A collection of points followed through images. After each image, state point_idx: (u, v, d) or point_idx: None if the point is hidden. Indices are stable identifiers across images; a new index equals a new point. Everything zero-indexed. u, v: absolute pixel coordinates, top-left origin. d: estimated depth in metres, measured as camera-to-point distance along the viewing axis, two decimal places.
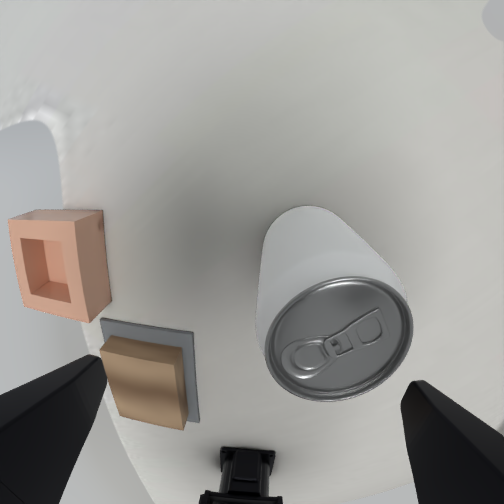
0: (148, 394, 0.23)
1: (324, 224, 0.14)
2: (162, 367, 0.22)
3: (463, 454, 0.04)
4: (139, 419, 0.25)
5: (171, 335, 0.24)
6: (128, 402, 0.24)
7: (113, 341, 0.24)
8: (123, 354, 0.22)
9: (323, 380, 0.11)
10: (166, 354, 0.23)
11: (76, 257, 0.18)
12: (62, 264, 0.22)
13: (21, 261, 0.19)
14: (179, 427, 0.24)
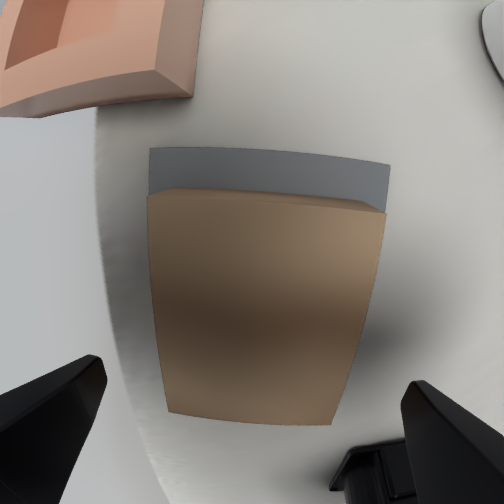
0: (278, 335, 0.09)
1: None
2: (352, 228, 0.08)
3: (463, 454, 0.04)
4: (222, 415, 0.11)
5: (343, 168, 0.10)
6: (204, 371, 0.10)
7: (183, 190, 0.10)
8: (229, 198, 0.08)
9: None
10: (345, 203, 0.09)
11: None
12: (94, 31, 0.08)
13: (17, 7, 0.05)
14: (324, 419, 0.11)
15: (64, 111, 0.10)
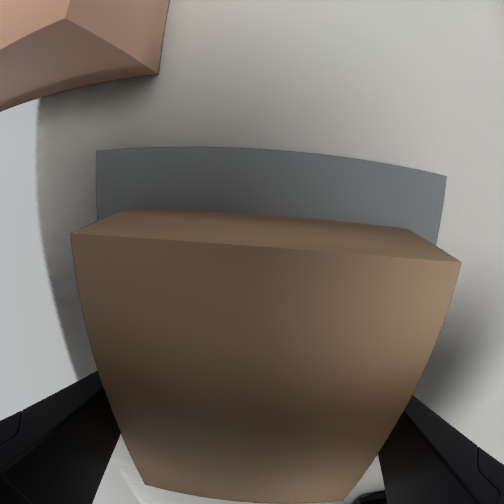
0: (281, 430, 0.06)
1: None
2: (411, 288, 0.04)
3: (431, 464, 0.04)
4: (210, 494, 0.07)
5: (383, 179, 0.06)
6: (181, 458, 0.06)
7: (137, 215, 0.06)
8: (199, 239, 0.05)
9: None
10: (392, 239, 0.05)
11: None
12: None
13: None
14: (336, 497, 0.07)
15: (4, 108, 0.06)
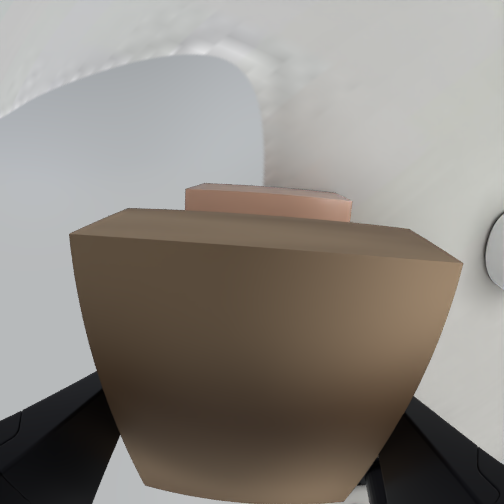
0: (282, 432, 0.06)
1: None
2: (412, 290, 0.04)
3: (431, 464, 0.04)
4: (209, 495, 0.07)
5: None
6: (181, 459, 0.06)
7: (137, 216, 0.06)
8: (199, 240, 0.05)
9: None
10: (393, 239, 0.05)
11: None
12: None
13: None
14: (336, 498, 0.07)
15: None
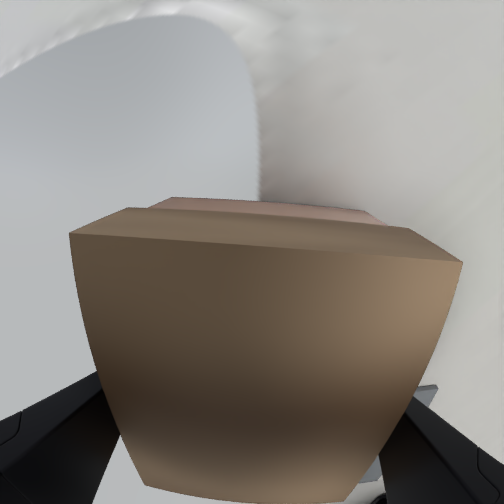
0: (282, 431, 0.06)
1: None
2: (412, 288, 0.04)
3: (431, 464, 0.04)
4: (209, 495, 0.07)
5: None
6: (181, 459, 0.06)
7: (137, 215, 0.06)
8: (199, 239, 0.04)
9: None
10: (393, 238, 0.05)
11: None
12: None
13: None
14: (336, 498, 0.07)
15: None
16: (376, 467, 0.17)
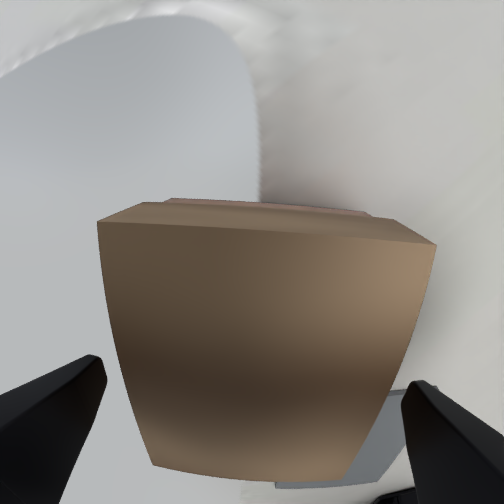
0: (281, 401, 0.07)
1: None
2: (390, 267, 0.05)
3: (463, 454, 0.04)
4: (214, 472, 0.08)
5: None
6: (189, 433, 0.07)
7: (153, 208, 0.07)
8: (211, 225, 0.05)
9: None
10: (376, 226, 0.06)
11: None
12: None
13: None
14: (334, 475, 0.08)
15: None
16: (376, 468, 0.17)
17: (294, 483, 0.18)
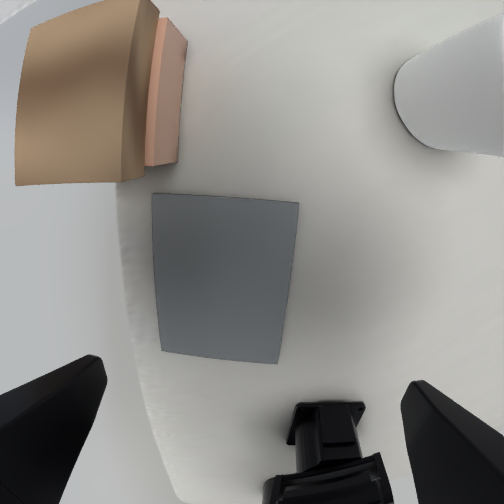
0: (74, 81, 0.10)
1: None
2: (119, 4, 0.08)
3: (463, 454, 0.04)
4: (43, 176, 0.11)
5: (267, 207, 0.17)
6: (35, 128, 0.10)
7: None
8: (63, 15, 0.08)
9: None
10: None
11: (158, 61, 0.11)
12: None
13: None
14: (113, 172, 0.11)
15: None
16: (265, 333, 0.20)
17: (178, 343, 0.21)
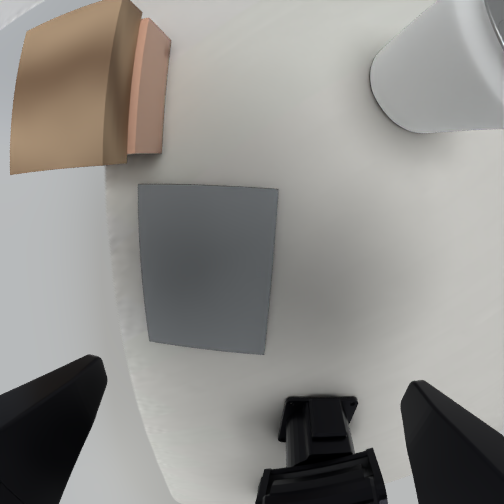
0: (63, 77, 0.10)
1: None
2: (104, 7, 0.09)
3: (463, 454, 0.04)
4: (34, 164, 0.12)
5: (247, 193, 0.18)
6: (28, 121, 0.11)
7: None
8: (55, 18, 0.09)
9: None
10: None
11: (140, 57, 0.12)
12: None
13: None
14: (96, 157, 0.11)
15: None
16: (250, 321, 0.20)
17: (165, 333, 0.21)
